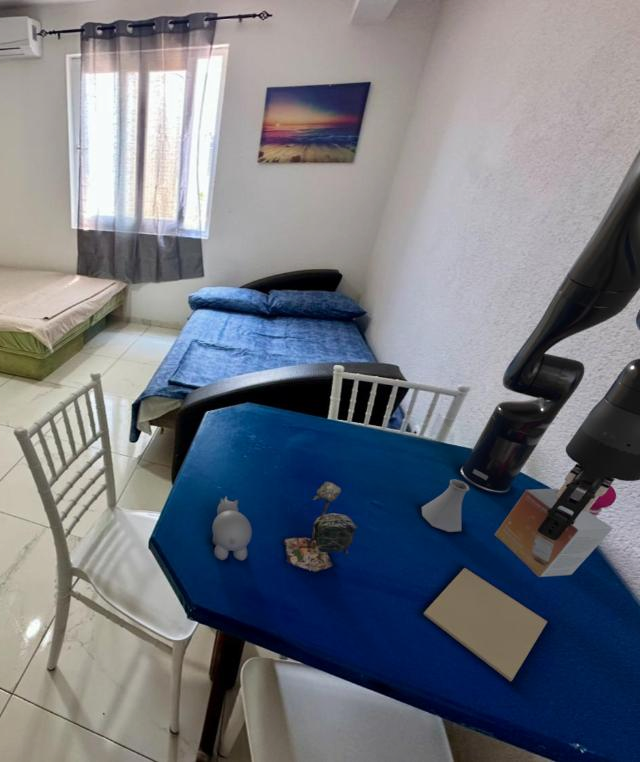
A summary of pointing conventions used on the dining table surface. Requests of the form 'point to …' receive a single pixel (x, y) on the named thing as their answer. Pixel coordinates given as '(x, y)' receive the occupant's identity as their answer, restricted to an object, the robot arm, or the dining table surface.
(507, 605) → the mat
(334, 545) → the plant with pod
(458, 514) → the flask
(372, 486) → the dining table surface
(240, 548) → the round bodied animal figurine
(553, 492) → the small box
